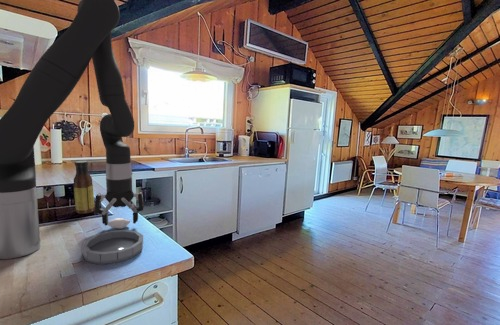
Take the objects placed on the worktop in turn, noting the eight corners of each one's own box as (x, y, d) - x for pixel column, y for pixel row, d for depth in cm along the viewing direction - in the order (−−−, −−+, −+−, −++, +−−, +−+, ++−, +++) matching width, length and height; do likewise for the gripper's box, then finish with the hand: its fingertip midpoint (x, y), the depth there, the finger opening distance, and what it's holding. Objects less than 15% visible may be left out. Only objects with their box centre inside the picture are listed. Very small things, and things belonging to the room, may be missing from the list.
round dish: (75, 267, 63) (75, 256, 63) (91, 241, 77) (91, 232, 76) (140, 260, 68) (140, 250, 67) (144, 236, 81) (144, 228, 81)
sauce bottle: (91, 208, 105) (89, 159, 102) (97, 212, 101) (95, 161, 98) (72, 211, 100) (69, 160, 97) (78, 216, 96) (75, 163, 93)
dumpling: (110, 233, 83) (110, 221, 82) (106, 228, 86) (105, 216, 86) (133, 228, 88) (133, 217, 87) (128, 223, 91) (128, 212, 91)
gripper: (91, 179, 79) (93, 230, 81) (141, 178, 83) (142, 226, 85) (97, 174, 86) (99, 221, 88) (143, 173, 90) (144, 218, 92)
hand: (120, 223), depth 87 cm, fingers open, 8 cm apart
